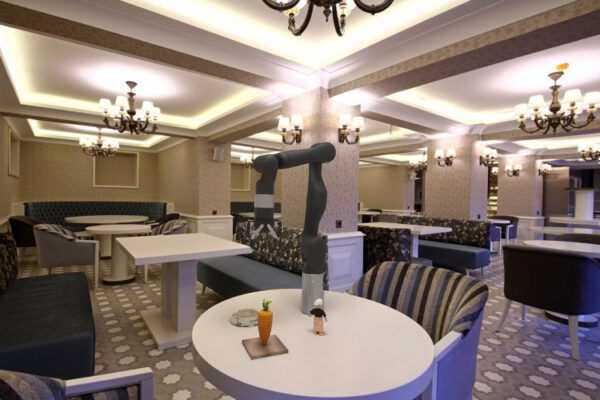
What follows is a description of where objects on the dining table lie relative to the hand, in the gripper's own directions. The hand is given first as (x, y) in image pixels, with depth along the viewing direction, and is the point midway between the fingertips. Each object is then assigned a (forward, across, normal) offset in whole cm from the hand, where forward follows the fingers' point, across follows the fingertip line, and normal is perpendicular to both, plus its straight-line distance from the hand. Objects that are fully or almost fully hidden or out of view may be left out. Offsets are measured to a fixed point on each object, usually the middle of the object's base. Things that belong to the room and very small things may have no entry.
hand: (263, 248), depth 120 cm
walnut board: (+30, -4, -17) cm, 35 cm away
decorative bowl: (+31, -3, +8) cm, 32 cm away
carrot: (+29, -4, -17) cm, 34 cm away
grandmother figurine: (+30, +18, -13) cm, 38 cm away
